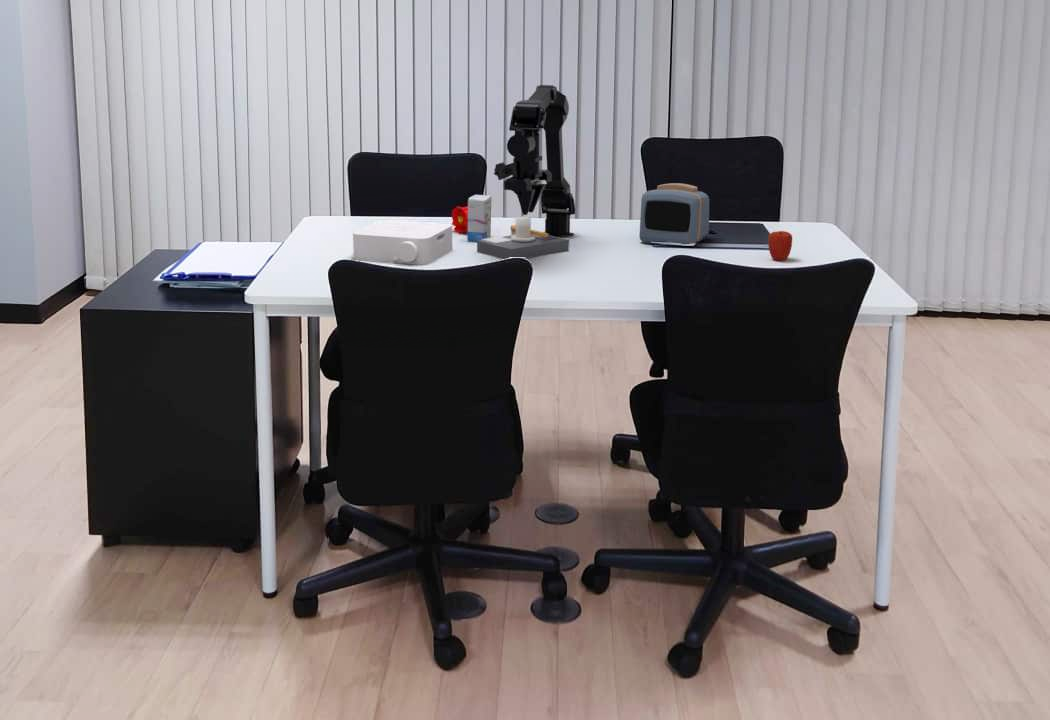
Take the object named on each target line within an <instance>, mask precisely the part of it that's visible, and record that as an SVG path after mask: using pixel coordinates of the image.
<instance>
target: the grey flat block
mask: <svg viewBox="0 0 1050 720" xmlns="http://www.w3.org/2000/svg"><path fill="white" fill-rule="evenodd" d="M510 233H511V234H510V235H506V236H495V237H494V236H492V237H489V238H486V239H482V240H478V241H477V242H476V252H477V253H479V254H483V255H484V254H485V255H488V256H491V257H496V258H499V259H503V260H505V259H504V258H509V257H526V258H525V259H528V258H529V259H530V258H534V257H539V256H547V255H552V254H558V253H563V252H569V251H570V250H569V243H570V242H569V240H570V239H567V238H562V237H555V236H551V235H548V237H542V236H538V235H534V234H531V235H534V236H535V240H534V241H531V242H525V243H520V242H516V241H512V240H511V236H512V235H516V231H515V230H511V229H510Z"/></svg>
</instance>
